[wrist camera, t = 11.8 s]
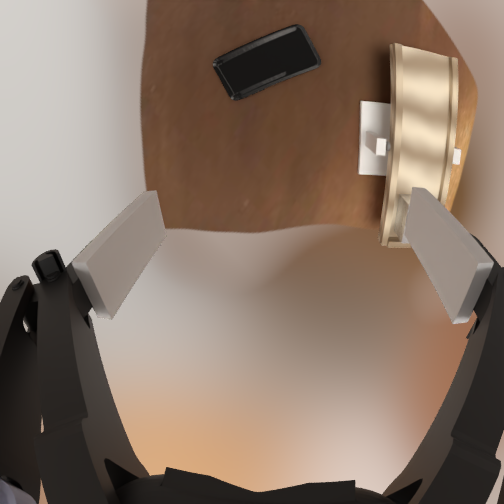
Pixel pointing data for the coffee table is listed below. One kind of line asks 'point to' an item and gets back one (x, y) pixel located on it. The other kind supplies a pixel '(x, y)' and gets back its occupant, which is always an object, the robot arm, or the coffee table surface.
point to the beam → (418, 130)
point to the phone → (266, 61)
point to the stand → (378, 138)
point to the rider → (402, 217)
